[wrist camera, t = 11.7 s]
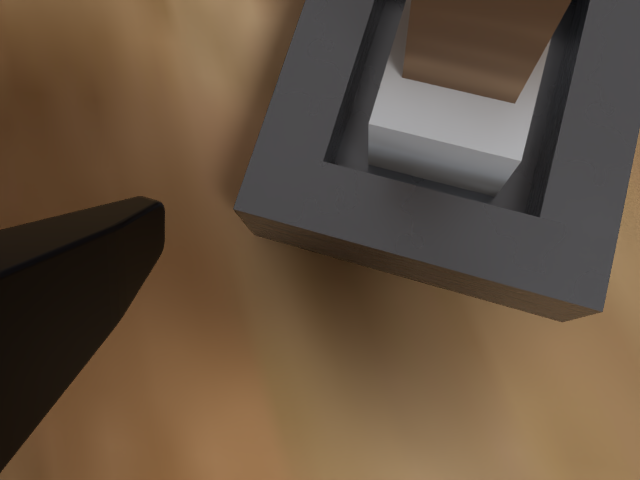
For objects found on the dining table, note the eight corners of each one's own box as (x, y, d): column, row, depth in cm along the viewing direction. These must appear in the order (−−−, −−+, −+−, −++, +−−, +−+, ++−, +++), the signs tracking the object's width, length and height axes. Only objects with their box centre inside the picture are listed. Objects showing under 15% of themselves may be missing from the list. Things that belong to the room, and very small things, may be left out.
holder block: (562, 322, 17) (602, 311, 14) (253, 234, 19) (233, 208, 16) (634, -14, 20) (681, -81, 17) (355, -69, 21) (354, -140, 18)
